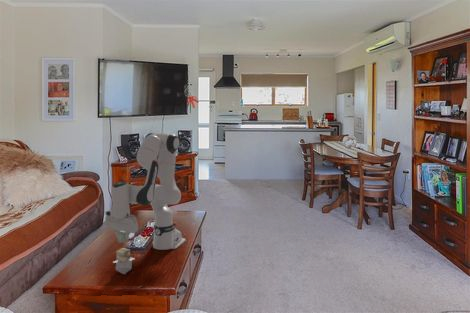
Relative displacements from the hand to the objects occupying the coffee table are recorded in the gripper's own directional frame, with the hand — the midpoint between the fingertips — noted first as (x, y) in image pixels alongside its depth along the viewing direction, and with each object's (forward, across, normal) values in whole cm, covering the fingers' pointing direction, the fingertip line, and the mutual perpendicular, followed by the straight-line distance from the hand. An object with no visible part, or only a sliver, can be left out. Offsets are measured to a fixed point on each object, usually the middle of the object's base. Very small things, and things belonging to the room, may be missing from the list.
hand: (122, 238), depth 204 cm
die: (+20, 0, 0) cm, 20 cm away
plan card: (+19, +11, -11) cm, 25 cm away
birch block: (+12, 0, 0) cm, 12 cm away
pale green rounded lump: (+2, 0, 0) cm, 2 cm away
